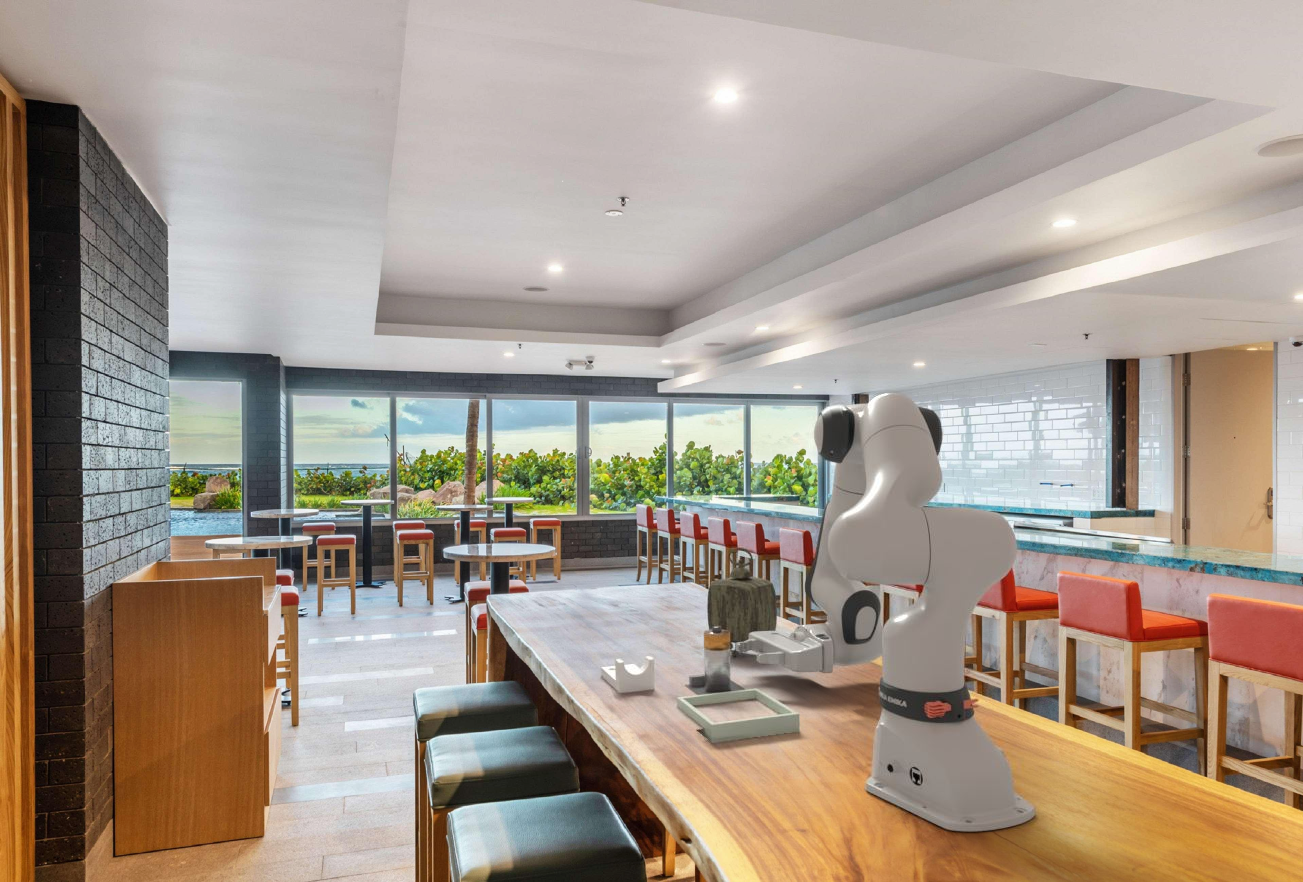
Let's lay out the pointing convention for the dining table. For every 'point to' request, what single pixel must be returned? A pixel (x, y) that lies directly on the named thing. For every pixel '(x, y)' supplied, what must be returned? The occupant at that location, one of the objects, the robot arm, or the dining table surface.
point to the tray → (743, 727)
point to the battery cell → (717, 660)
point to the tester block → (699, 685)
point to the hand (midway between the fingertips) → (747, 653)
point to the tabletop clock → (742, 603)
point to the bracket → (630, 676)
